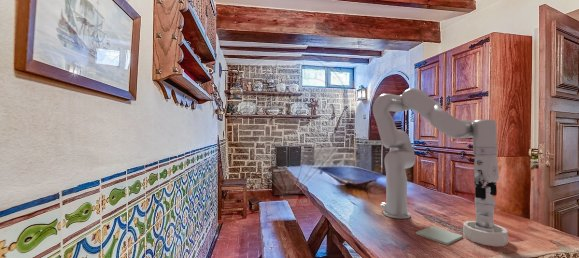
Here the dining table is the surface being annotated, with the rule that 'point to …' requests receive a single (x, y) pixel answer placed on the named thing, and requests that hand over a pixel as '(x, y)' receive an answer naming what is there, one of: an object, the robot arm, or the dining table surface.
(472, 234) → the bowl
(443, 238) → the mat
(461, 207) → the dining table surface
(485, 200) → the plastic bottle
